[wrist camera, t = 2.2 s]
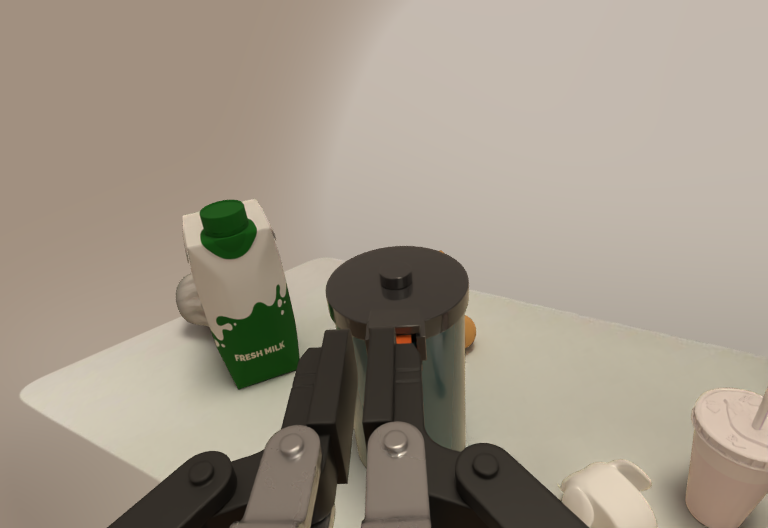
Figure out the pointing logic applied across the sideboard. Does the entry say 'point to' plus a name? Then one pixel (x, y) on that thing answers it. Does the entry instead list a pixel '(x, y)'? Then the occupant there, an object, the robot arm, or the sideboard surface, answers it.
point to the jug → (409, 327)
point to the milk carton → (242, 289)
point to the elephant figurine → (609, 495)
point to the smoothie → (728, 456)
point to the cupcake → (190, 302)
